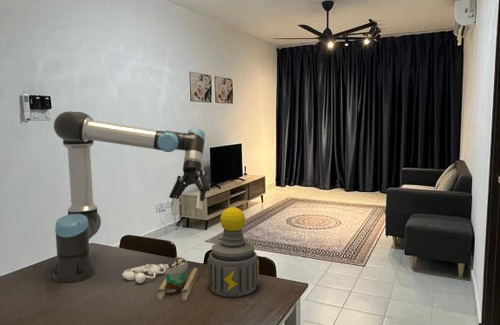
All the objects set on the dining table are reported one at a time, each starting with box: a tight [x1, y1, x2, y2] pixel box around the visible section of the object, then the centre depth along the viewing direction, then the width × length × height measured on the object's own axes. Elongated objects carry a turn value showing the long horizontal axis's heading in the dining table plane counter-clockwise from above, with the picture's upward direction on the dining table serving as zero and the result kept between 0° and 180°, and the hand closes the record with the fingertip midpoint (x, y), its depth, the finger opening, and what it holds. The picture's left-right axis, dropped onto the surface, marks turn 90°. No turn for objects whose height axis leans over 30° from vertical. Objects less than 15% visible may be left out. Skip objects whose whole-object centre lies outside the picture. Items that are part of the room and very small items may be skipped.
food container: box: [164, 256, 189, 295], centre depth 141 cm, size 12×6×10 cm, turn 173°
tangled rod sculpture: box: [121, 263, 170, 284], centre depth 155 cm, size 19×14×4 cm
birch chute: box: [156, 267, 198, 302], centre depth 143 cm, size 10×22×4 cm, turn 178°
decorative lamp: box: [206, 206, 260, 298], centre depth 142 cm, size 19×19×30 cm
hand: (186, 211), depth 153 cm, fingers open, 13 cm apart
